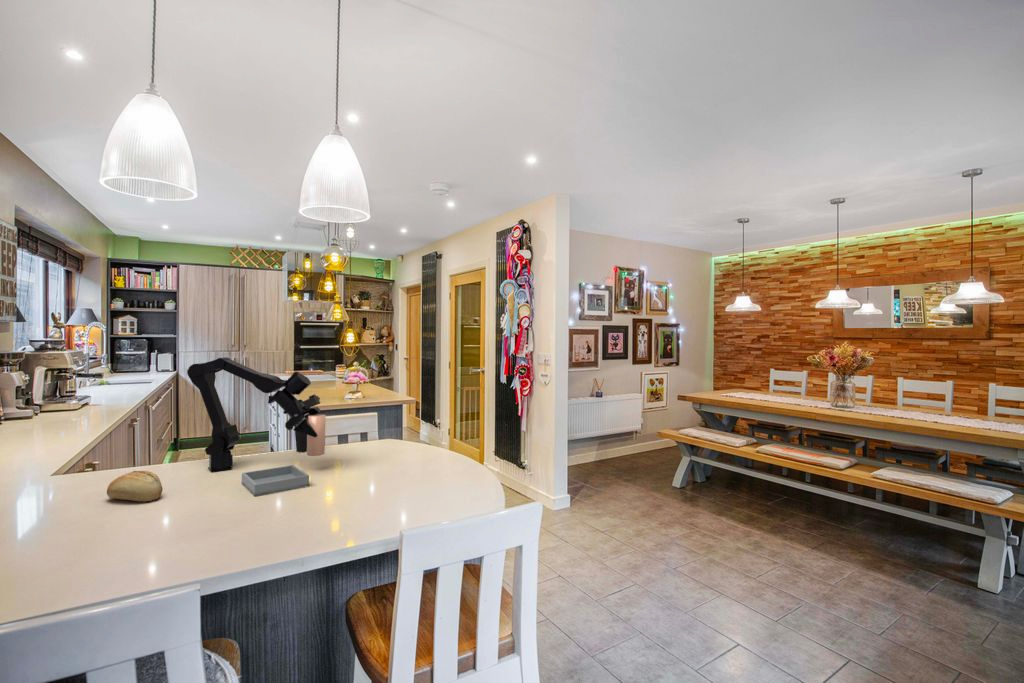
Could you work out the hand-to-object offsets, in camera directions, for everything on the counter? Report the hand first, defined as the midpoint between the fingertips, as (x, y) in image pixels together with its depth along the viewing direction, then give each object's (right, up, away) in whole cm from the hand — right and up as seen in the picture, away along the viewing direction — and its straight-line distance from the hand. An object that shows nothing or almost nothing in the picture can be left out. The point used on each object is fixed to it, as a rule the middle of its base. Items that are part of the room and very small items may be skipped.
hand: (319, 434), depth 172 cm
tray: (-8, -13, -17) cm, 23 cm away
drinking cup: (-19, -13, +28) cm, 36 cm away
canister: (-2, -7, 0) cm, 7 cm away
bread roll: (-41, -13, -33) cm, 54 cm away
